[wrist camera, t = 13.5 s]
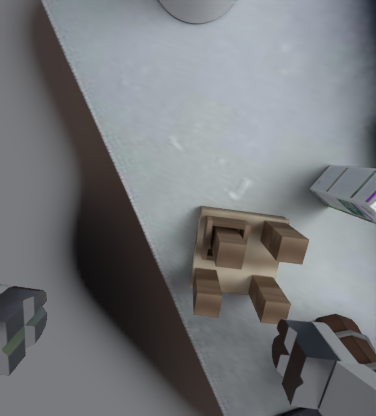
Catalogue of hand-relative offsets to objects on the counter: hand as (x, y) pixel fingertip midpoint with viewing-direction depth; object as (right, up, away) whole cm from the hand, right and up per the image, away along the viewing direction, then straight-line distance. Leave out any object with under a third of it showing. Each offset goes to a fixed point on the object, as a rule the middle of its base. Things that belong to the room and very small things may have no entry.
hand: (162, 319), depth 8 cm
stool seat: (+10, -4, +37) cm, 39 cm away
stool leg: (+7, -1, +34) cm, 35 cm away
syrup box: (+27, +8, +34) cm, 45 cm away
